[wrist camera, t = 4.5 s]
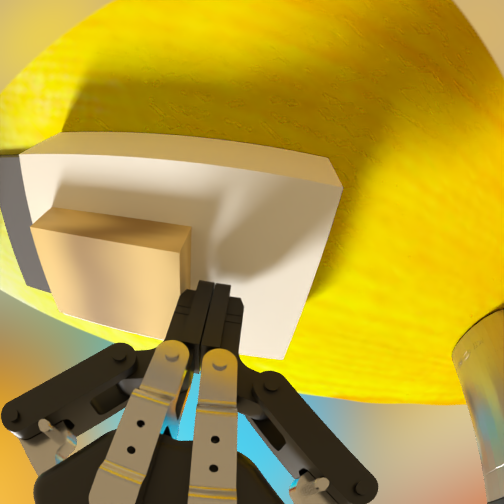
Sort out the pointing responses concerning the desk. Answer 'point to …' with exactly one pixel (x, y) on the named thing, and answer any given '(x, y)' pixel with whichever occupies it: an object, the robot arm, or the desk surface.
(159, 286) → the ochre tile
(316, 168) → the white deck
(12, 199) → the dark grey mat
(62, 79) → the desk surface
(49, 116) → the desk surface
